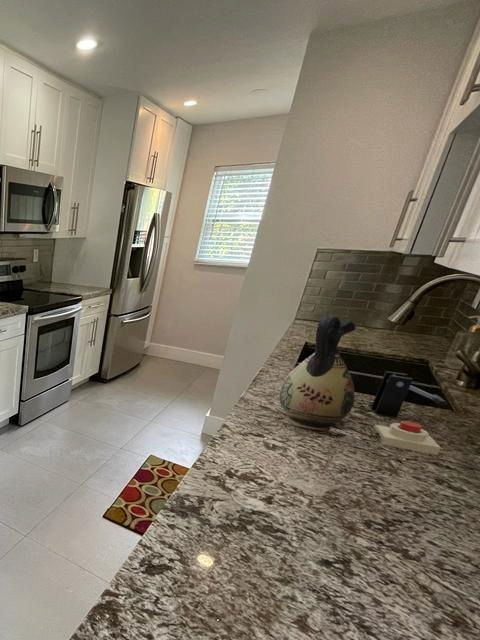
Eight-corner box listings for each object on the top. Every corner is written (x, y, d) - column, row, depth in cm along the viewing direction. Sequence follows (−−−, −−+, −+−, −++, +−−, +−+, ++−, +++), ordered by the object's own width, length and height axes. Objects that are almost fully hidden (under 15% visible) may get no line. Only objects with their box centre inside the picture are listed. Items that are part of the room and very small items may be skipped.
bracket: (403, 415, 119) (422, 374, 114) (416, 428, 111) (436, 384, 106) (350, 406, 124) (365, 366, 120) (358, 418, 116) (375, 376, 112)
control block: (424, 441, 104) (430, 427, 102) (437, 455, 97) (444, 440, 96) (372, 431, 109) (377, 418, 107) (381, 444, 102) (387, 430, 101)
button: (416, 429, 102) (418, 422, 102) (421, 434, 99) (424, 428, 99) (396, 425, 104) (399, 419, 103) (401, 431, 101) (404, 424, 100)
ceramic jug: (291, 408, 122) (324, 308, 112) (354, 430, 109) (398, 319, 98) (256, 417, 116) (287, 312, 105) (318, 442, 103) (361, 325, 92)
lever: (433, 401, 113) (441, 394, 112) (441, 408, 108) (449, 401, 107) (384, 379, 117) (391, 372, 115) (390, 385, 112) (397, 378, 111)
